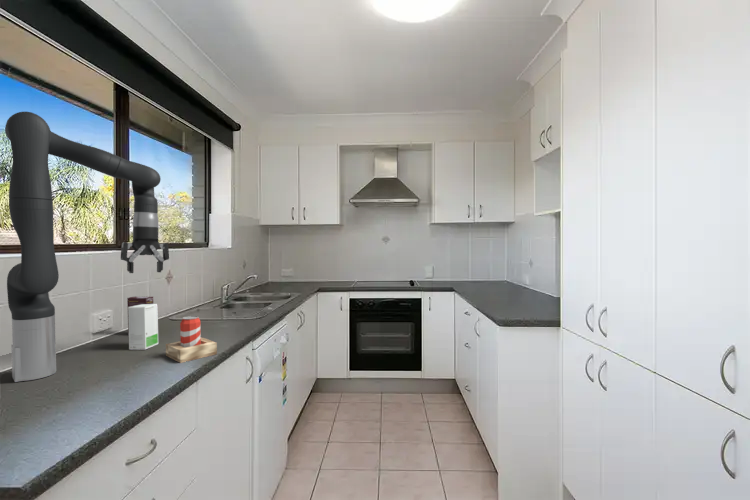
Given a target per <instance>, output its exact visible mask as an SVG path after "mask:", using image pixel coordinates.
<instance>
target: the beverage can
mask: <svg viewBox="0 0 750 500" xmlns="http://www.w3.org/2000/svg"><path fill="white" fill-rule="evenodd" d="M179 324H180V325H179V327H180V330H179V331H180V336H179V337H180V341H181V347H184V348H186V347H191V346H196V345H200V344H201V336H202V335H201V329H202V328H201V326H202V325H201V319H200V317H199V316H198V315H189V316H183V317H182V319H181V321H180V322H179Z"/></svg>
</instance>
